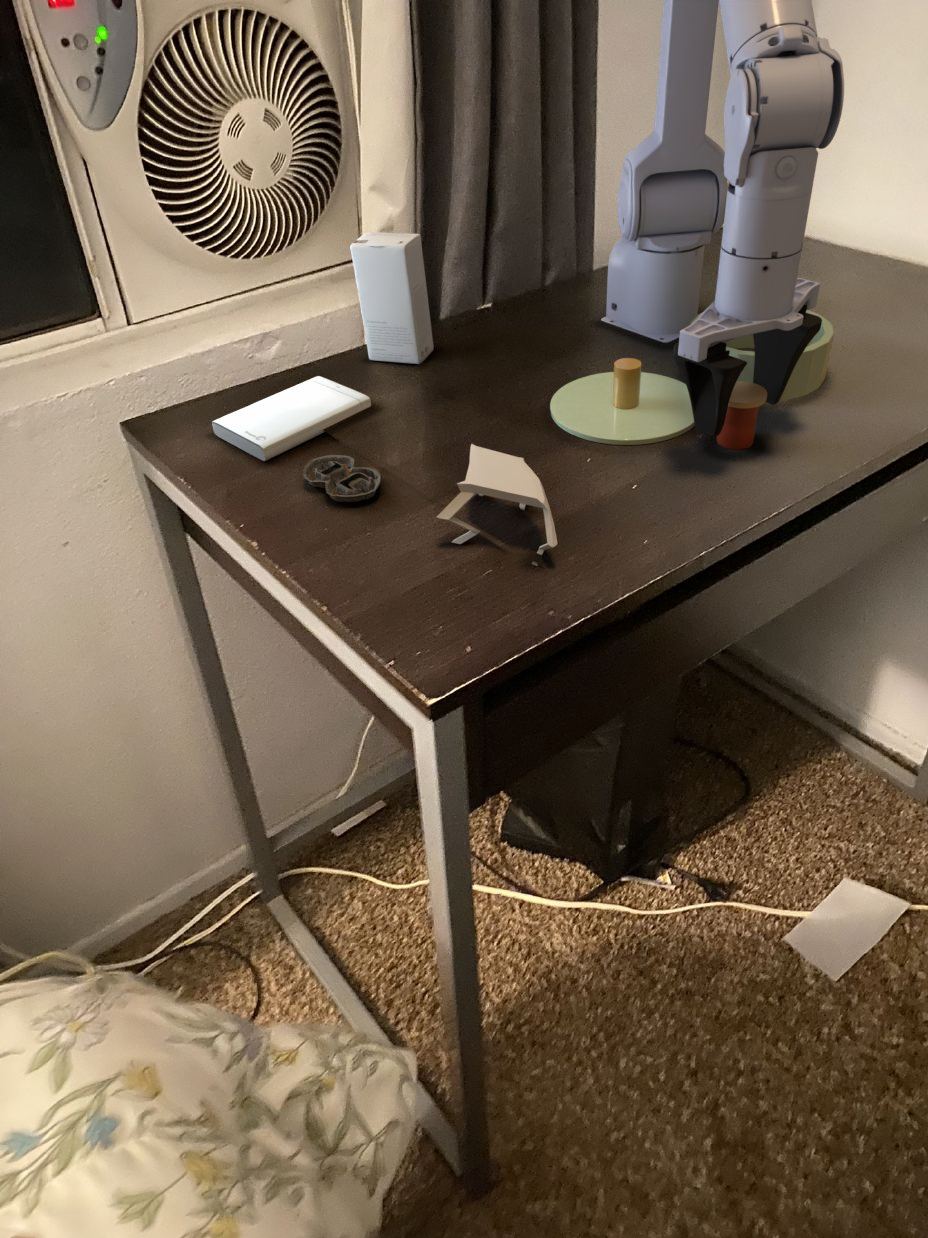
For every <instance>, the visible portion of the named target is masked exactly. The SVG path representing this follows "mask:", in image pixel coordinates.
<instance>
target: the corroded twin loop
mask: <svg viewBox="0 0 928 1238" xmlns="http://www.w3.org/2000/svg"><path fill="white" fill-rule="evenodd" d="M333 469H334V470H333ZM301 473H302V478H303V479H305V480H307V481H308V484H309V485H311V487H313V488H321V489H325V491H326V494H328V495H329V497H330V499H332V500H333V501H335V502H337V503H339V502H340V503H341V502H342V503H355V502H362V501H363V500H364V501H365V500H370V499H371V498H373V497H374V496H375V493H376V490H377V489H378V488H379V486H380V484H381V476H382V474H381V473H380V472H379V470H378V469H377V468H376V467H372V466H356V467H355V458H354V457H351V456H350V455H346V454H344V455H342V454H327V455H323V456H318V457H314V458H312V459H309V460H308V461H307V462H306V464H305V465H304V467H303V468H302V472H301ZM347 484H348V486H349V487H350V488H349V487H347V486H346V485H347Z"/></svg>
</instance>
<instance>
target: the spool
mask: <svg viewBox="0 0 928 1238" xmlns="http://www.w3.org/2000/svg"><path fill="white" fill-rule="evenodd" d="M766 399H767V391H766V389H765V388H763V387H762V386H760V385H758V384H755V383H751V382H743V381H736V384H735V386H734V388H733V391H732V394H731V397H730V400H729V404H728V409H727V414H726V418H725V422H724V425H723V428H722V430H721V433H720V434H719V435H717V436H716V442H717V444H718V445H719V446H721V447H723V448H725V449H729V450H743V449H749V448H750V447H752V445H754V440H755V435H756V434H755V433H756V427H757V422H758V421H757V420H758V415H759V410H760V409H759V408H760V406H762V405H764V404H765V403H766V402H765V401H766Z"/></svg>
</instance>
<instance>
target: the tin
mask: <svg viewBox="0 0 928 1238" xmlns="http://www.w3.org/2000/svg"><path fill="white" fill-rule="evenodd" d="M703 312H704V311H703ZM703 312H699V313H698V315H697V317H696V318H695V319H694V320H693V321H692V322H691V324H692V323H693V322H694V321H695V320H696V319H697V318H698V317H699V316H700V315H701V314H702V313H703ZM806 313H809V314H812V315H816V316H819V317H820V318H821V319H822V324H821V329H820V330H819V332H818V333H817V334H816V335H815V336H814V337H813V339H812V340H811V341H810V343H809V344H808V345H807V347H806V348H805V350H804V351H803V353H802V355H801V356H800V358H799V360H798V362H797V363H796V365H795V367H794V369H793V372H792V374H791V376H790V378H789V380H788V383H787V385H786V387H785V389H784V392H783V394H782V396H781V398H780V400H779V402H784V401H789V400H792V399H797V398H801V397H805V396H807V395H809V394H810V393H813V392H814V391H816V390H818V389H819V388H820V387H821V386H822V384H823V383H824V381H825V380H826V377H827V371H828V366H829V363H830V361H829V360H830V356H831V352H832V347H833V342H834V337H835V330H834V327H833V324H832V322H831V321H829V320H828V319H827V318H825V317H824V316H823V315H821V314H819V313H817V312H814V311H811V310H806ZM726 344H727V345H726V351H727V350H729V351H730V353H729V356H732V357H735V358H738V359H741V360H744V361H746V362H747V364H746V366H745V367H744V369H743V371H742V372H741V374H740V376H739V378H738V379H737V381H743V382H751V383H753V374H754V362H755V351H754V350H753V351H752V350H742V349H754V338H753V334H750V335H745V336H741V337H739V338H737V339H735V340H733V341H730V342H728V343H726Z"/></svg>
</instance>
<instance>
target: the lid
mask: <svg viewBox="0 0 928 1238" xmlns="http://www.w3.org/2000/svg"><path fill="white" fill-rule="evenodd" d="M642 365H643V364H642V361H641V360H640V359H638V358H633V357H622V358H619V359H616V360H615V361H614V362H613V371H607V372H600V373H595V374H590V375H587V376H583V377H580V378H577V379H575V380H572V381H570V382H568V383H566V384H564V385H563V386H562V387H560V388H559V389H558V390H557V391H556V392H555V393H554V394H553V395H552V397H551V399H550V403H549V413H550V416H551V419H552V420H553V421H554V423H555V424H556V425H557V427H559V428H560V429H562V430H563V431H565V432H566V433H568V434H570V435H572V436H574V437H577V438H579V439H582V440H586V441H590V442H595V443H598V444H606V445H615V446H638V445H639V446H640V445H649V444H656V443H661V442H664V441H668V440H671V439H674V438H677V437H679V436H681V435H684V434H686V433H687V432H689V431H690V430H692V429H693V428H695V424H694V418H693V412H692V406H691V401H690V396H689V392H688V389H687V386H686V383H685V382H682V381H680V380H678V379H675V378H673V377H670V376H665V375H662V374H658V373H652V372H644V371H642Z"/></svg>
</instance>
